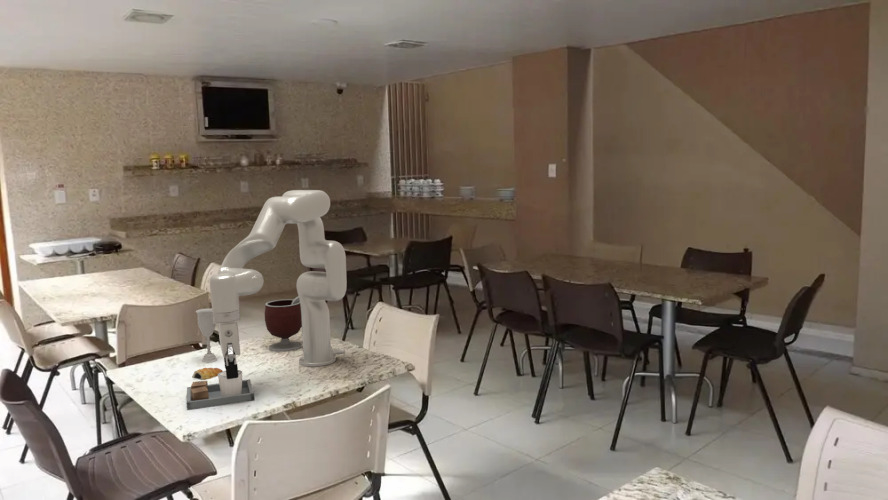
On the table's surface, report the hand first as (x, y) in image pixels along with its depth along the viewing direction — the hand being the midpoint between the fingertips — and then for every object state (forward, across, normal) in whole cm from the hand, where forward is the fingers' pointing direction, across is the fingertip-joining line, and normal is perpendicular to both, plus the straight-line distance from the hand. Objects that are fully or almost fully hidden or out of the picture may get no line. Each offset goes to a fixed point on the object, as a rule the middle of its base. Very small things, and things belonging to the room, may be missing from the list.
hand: (231, 373), depth 191 cm
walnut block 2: (+6, -4, +9) cm, 12 cm away
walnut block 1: (+6, +2, +9) cm, 12 cm away
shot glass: (+7, -1, +1) cm, 7 cm away
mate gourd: (+9, +50, -22) cm, 56 cm away
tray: (+7, -1, +4) cm, 8 cm away
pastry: (+8, +23, +7) cm, 25 cm away
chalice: (+9, +44, +6) cm, 45 cm away
